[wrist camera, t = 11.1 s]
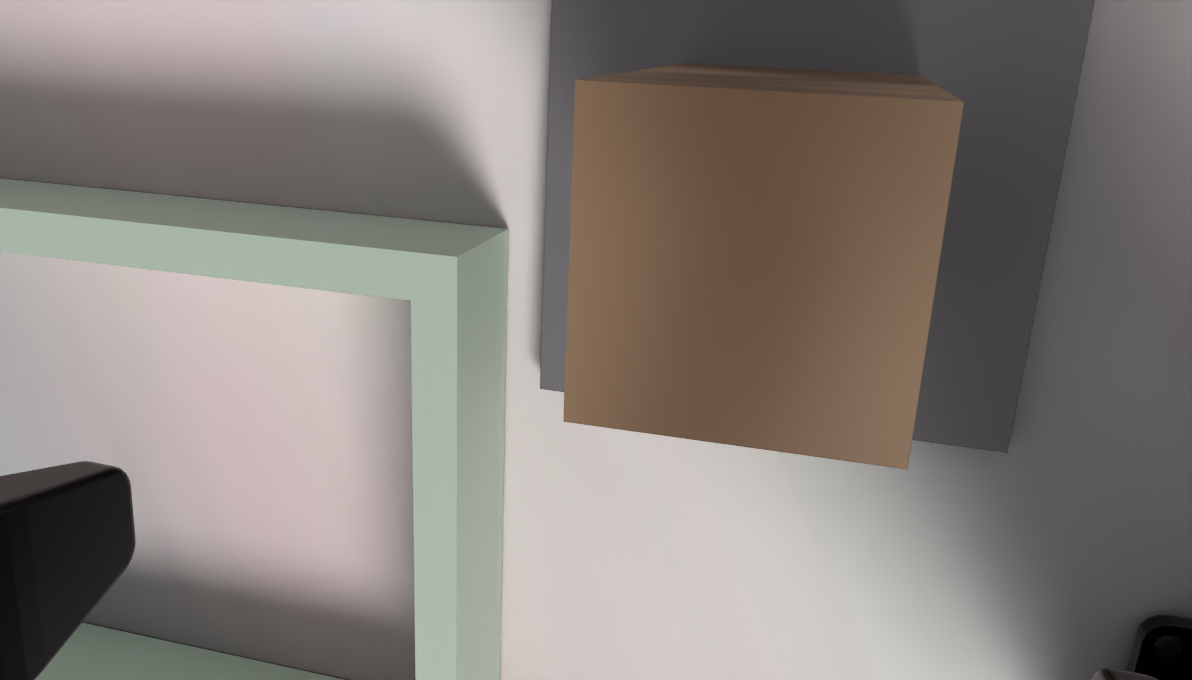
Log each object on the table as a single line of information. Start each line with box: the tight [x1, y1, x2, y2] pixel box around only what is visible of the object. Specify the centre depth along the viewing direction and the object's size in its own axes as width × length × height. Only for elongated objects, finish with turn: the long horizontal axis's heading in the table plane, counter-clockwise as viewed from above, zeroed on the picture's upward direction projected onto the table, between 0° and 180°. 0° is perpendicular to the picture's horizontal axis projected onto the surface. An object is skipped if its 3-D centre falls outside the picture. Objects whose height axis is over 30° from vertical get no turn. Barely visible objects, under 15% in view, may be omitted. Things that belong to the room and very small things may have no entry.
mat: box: [540, 0, 1095, 453], centre depth 20 cm, size 10×10×1 cm
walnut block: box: [564, 63, 964, 469], centre depth 16 cm, size 4×4×8 cm
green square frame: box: [0, 178, 508, 680], centre depth 24 cm, size 17×14×3 cm
